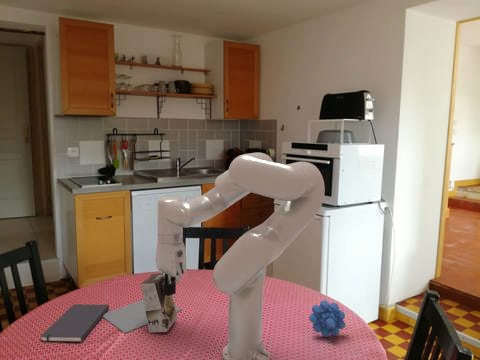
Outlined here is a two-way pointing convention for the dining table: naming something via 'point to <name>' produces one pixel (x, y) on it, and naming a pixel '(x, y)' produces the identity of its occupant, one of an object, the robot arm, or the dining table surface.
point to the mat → (129, 317)
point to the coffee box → (158, 304)
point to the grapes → (327, 319)
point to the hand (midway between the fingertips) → (170, 294)
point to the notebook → (75, 323)
